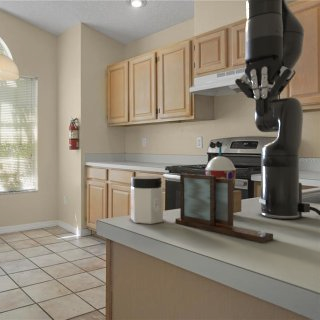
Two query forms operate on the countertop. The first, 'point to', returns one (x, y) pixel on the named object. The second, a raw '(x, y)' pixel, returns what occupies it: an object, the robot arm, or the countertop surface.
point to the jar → (146, 199)
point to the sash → (226, 201)
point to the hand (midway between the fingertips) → (263, 115)
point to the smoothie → (221, 168)
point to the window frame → (208, 208)
